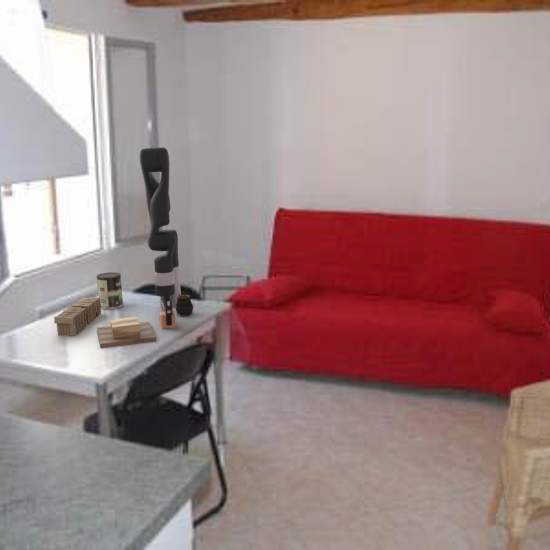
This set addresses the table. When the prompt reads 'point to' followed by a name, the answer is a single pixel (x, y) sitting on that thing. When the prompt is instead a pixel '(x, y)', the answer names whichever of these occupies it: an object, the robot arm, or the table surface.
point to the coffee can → (110, 290)
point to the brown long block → (78, 316)
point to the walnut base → (129, 340)
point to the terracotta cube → (163, 320)
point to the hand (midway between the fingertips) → (167, 322)
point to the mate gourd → (184, 305)
